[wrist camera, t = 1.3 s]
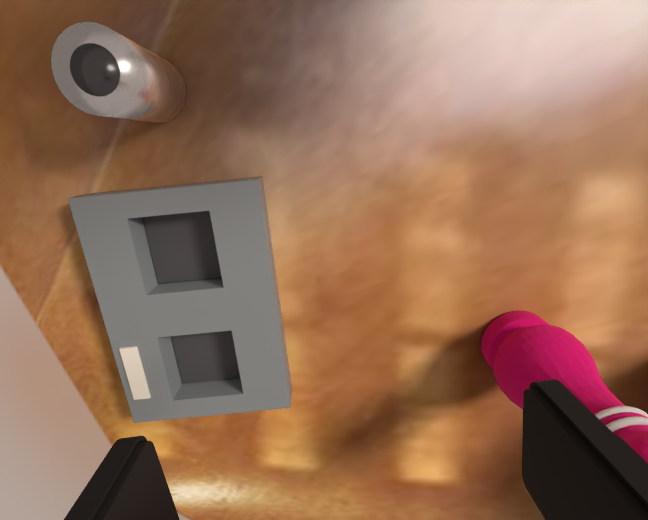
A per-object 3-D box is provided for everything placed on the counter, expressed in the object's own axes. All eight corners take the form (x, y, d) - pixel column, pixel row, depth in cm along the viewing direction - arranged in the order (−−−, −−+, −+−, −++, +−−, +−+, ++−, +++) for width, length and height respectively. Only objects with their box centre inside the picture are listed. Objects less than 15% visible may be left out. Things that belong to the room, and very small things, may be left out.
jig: (86, 193, 30) (65, 198, 28) (261, 176, 30) (257, 179, 28) (145, 404, 36) (132, 424, 34) (291, 390, 36) (290, 409, 33)
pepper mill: (474, 378, 36) (653, 641, 17) (474, 309, 34) (680, 522, 15) (549, 370, 36) (813, 624, 17) (555, 300, 34) (864, 502, 15)
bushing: (115, 58, 27) (38, 26, 20) (179, 52, 27) (126, 17, 20) (131, 125, 29) (65, 119, 21) (191, 119, 29) (147, 111, 21)
